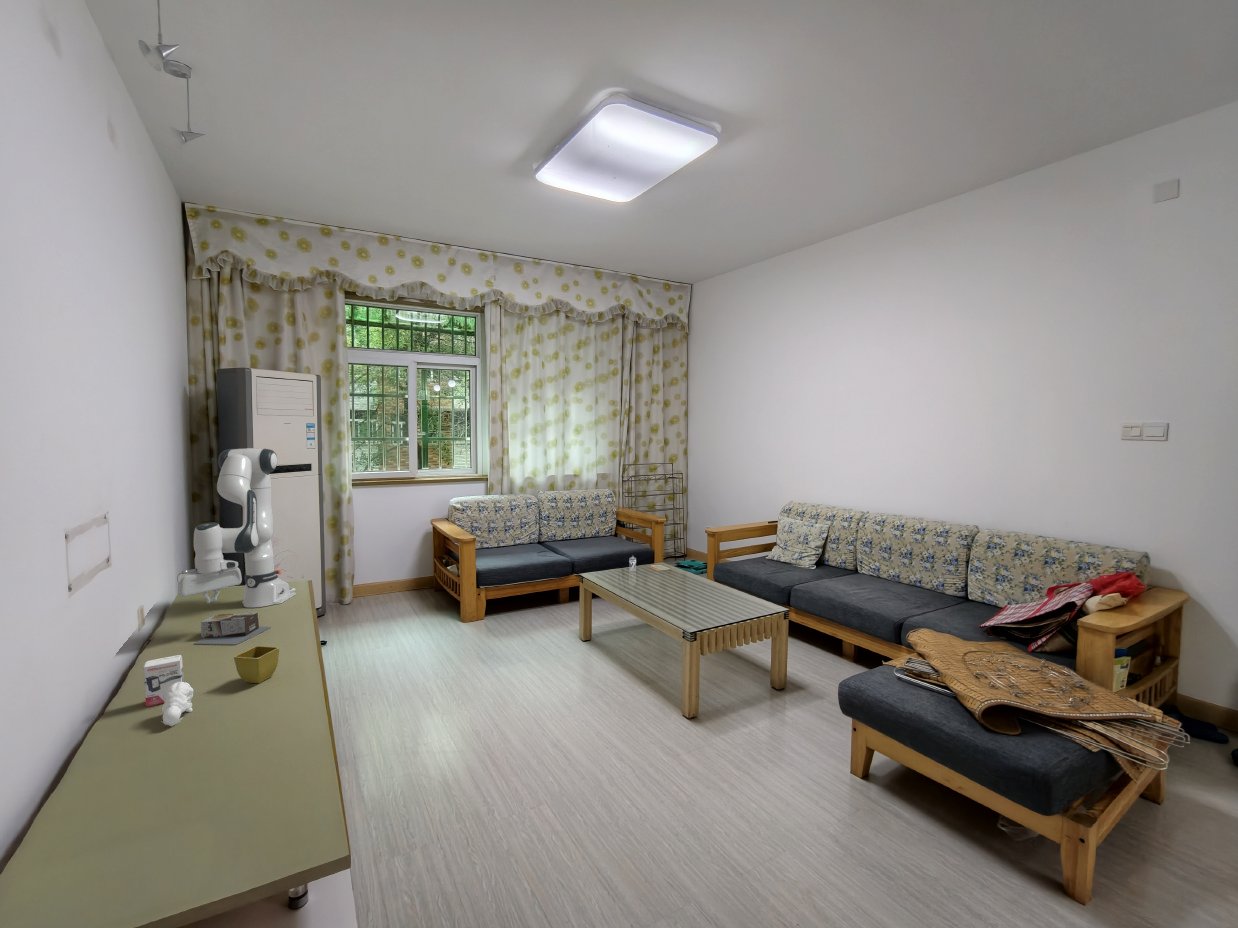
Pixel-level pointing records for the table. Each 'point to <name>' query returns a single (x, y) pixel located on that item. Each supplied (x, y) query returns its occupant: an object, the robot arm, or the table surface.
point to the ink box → (161, 677)
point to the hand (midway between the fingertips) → (211, 601)
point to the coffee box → (229, 625)
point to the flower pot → (257, 663)
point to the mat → (230, 638)
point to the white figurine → (177, 702)
